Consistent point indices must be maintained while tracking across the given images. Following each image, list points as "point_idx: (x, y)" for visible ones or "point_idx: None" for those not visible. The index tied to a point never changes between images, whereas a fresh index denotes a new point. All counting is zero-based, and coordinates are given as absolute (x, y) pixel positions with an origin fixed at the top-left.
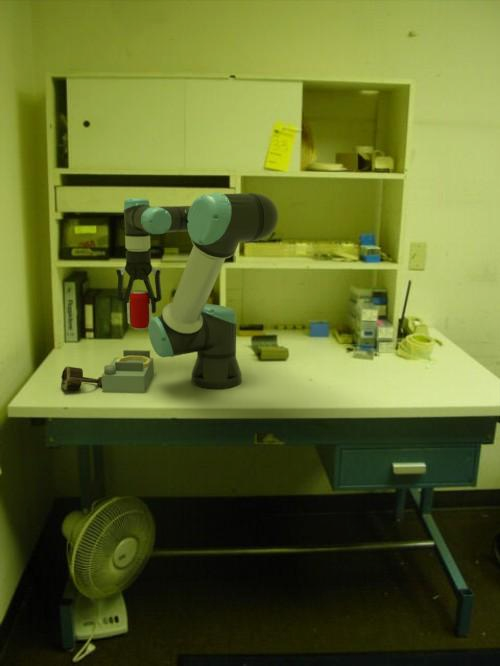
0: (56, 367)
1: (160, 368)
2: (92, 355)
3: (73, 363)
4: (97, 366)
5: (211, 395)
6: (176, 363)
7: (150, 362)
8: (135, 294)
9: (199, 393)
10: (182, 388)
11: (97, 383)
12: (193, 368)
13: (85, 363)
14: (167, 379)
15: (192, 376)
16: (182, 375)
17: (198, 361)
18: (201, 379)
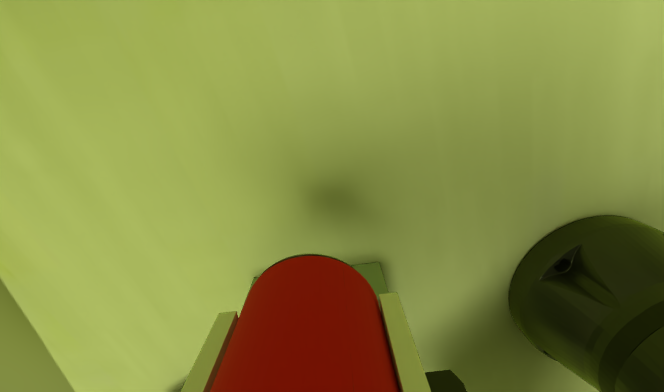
0: (36, 267)
1: (389, 211)
2: (61, 107)
3: (60, 219)
4: (163, 232)
5: (563, 379)
6: (438, 143)
7: None
8: None
9: (532, 373)
10: (485, 352)
11: None
12: (540, 331)
13: (102, 210)
14: (433, 301)
15: (524, 331)
16: (475, 261)
17: (583, 376)
18: (554, 359)
